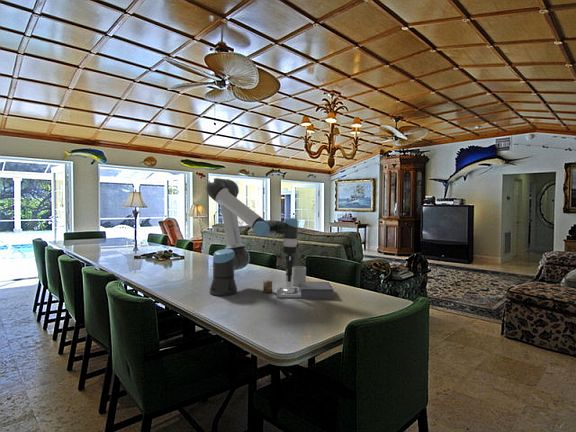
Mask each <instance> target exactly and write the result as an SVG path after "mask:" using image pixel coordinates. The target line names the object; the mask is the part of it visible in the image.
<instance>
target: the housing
mask: <svg viewBox="0 0 576 432" xmlns="http://www.w3.org/2000/svg"><path fill="white" fill-rule="evenodd" d="M299 288H300V289H301V298H300V299H303V300H305V299H306V300H307V299H308V300H309V299H310V300H311V299H312V300H316V299H317V300H323V299H324V300H334V288H333V286H332V285H331V284H330V282H329V281H306V282H299Z"/></svg>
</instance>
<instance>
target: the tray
mask: <svg viewBox="0 0 576 432" xmlns="http://www.w3.org/2000/svg"><path fill="white" fill-rule="evenodd" d="M279 285H280V284H279V282H277V283H276V298H300V299H301V289H300V288H299V287H297V286H291V287H292V288H296V289H297V292H296V293H295V294H285V293H282V289H283V288H286V286H285V287H284V286H283V287H282V286H281V287H280V286H279Z"/></svg>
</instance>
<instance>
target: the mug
mask: <svg viewBox="0 0 576 432" xmlns="http://www.w3.org/2000/svg"><path fill="white" fill-rule="evenodd" d="M306 280H307V267H306V266H302V265H296V266H294V265H293V266H292V287H299V282H307V281H306Z"/></svg>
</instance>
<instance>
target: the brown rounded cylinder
mask: <svg viewBox="0 0 576 432" xmlns="http://www.w3.org/2000/svg"><path fill="white" fill-rule="evenodd" d="M262 286H263V293H264V294H271V293H273V280H268V279H267V280H263V285H262Z"/></svg>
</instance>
